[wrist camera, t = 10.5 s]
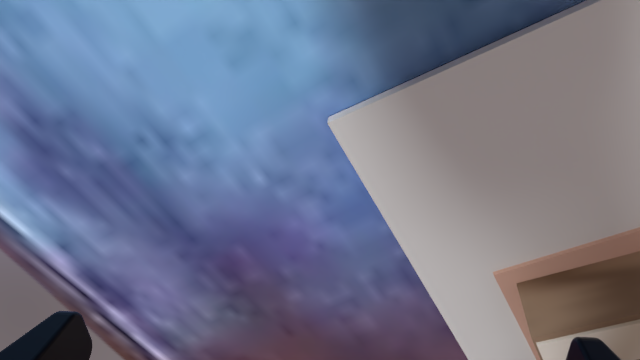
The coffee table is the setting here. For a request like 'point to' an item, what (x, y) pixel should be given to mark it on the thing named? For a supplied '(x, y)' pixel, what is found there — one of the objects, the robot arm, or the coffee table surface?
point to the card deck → (585, 307)
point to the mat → (509, 166)
